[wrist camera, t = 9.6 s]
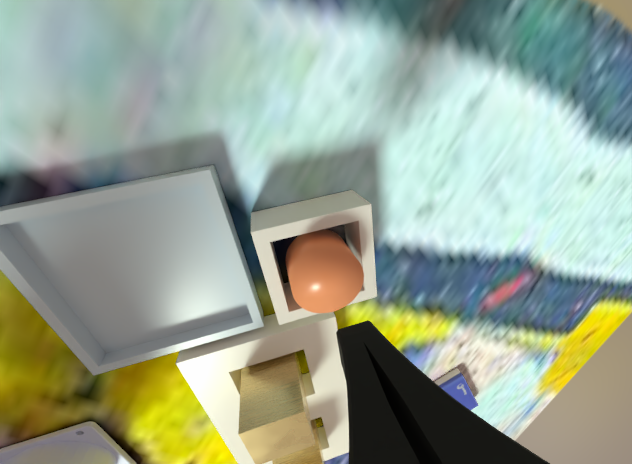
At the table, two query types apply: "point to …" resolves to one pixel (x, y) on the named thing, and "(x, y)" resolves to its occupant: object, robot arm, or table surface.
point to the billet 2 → (305, 452)
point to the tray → (132, 267)
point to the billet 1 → (274, 409)
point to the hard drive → (457, 388)
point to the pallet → (261, 345)
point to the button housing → (305, 220)
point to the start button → (323, 271)
